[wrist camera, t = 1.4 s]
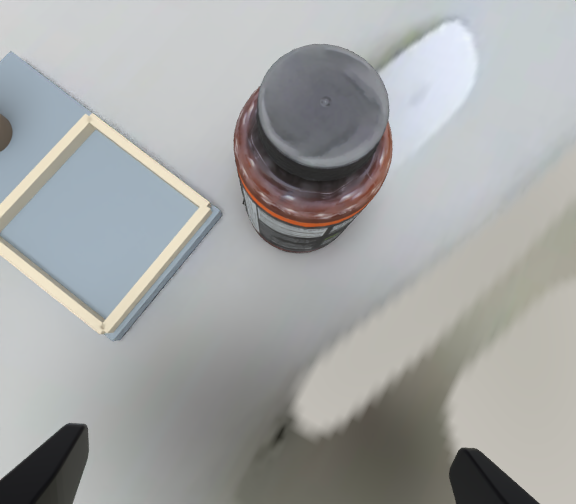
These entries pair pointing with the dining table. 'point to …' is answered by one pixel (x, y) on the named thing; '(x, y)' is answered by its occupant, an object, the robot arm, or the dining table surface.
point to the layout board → (88, 205)
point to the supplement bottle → (312, 146)
